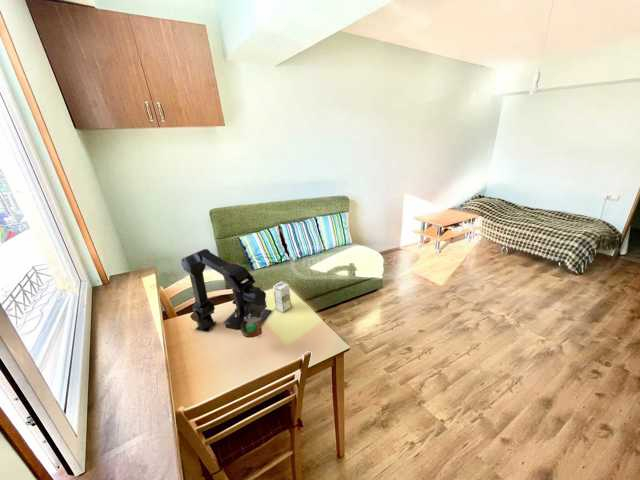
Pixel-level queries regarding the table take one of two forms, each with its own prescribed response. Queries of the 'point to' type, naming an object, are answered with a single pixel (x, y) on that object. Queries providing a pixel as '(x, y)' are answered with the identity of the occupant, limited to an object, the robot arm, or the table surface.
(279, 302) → the syrup box
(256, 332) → the food container
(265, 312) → the desk pad
